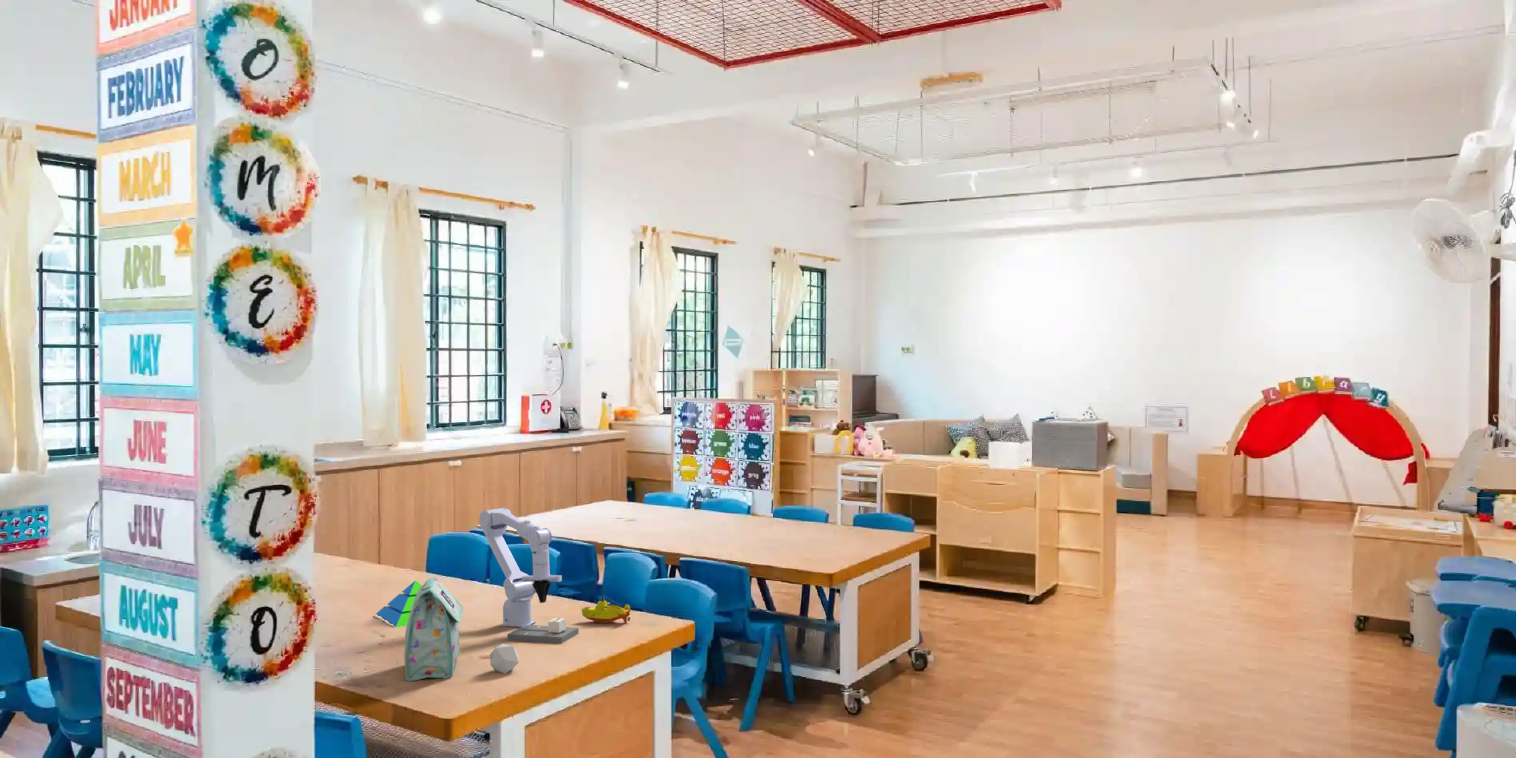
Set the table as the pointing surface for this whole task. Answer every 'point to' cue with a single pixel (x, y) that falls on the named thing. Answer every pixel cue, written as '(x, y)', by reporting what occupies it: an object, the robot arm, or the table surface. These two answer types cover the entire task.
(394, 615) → the pyramid toy
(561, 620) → the fader tab
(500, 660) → the die
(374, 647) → the table surface
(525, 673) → the table surface
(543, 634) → the console board
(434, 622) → the lunch bag
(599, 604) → the toy boat
